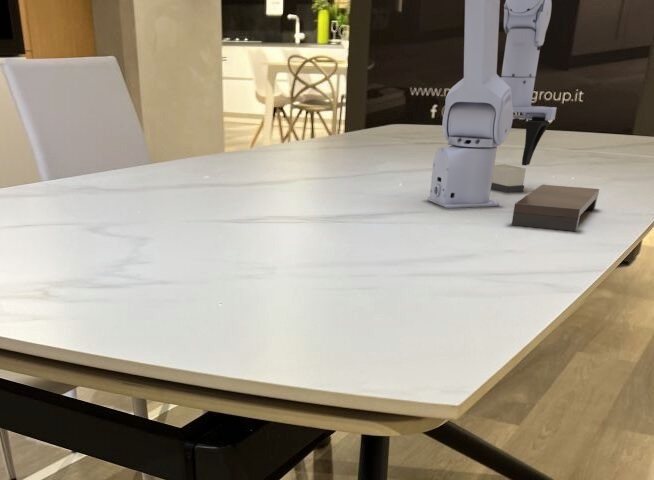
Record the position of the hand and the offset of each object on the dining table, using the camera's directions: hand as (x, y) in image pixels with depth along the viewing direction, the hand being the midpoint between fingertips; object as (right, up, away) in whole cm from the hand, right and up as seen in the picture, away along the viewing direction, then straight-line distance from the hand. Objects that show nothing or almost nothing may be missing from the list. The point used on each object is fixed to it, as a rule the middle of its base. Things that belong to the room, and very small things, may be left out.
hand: (505, 162), depth 135 cm
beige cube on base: (0, -4, +2) cm, 4 cm away
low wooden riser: (+2, -18, -20) cm, 27 cm away
